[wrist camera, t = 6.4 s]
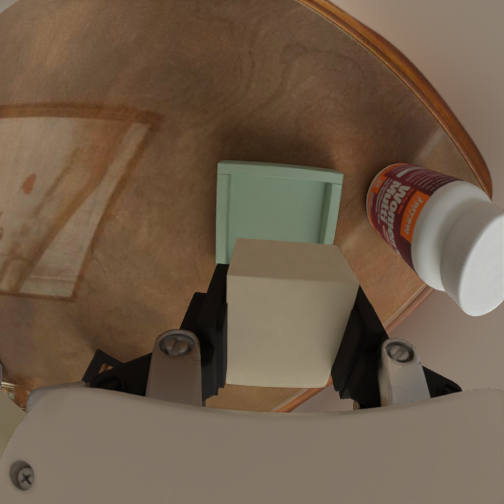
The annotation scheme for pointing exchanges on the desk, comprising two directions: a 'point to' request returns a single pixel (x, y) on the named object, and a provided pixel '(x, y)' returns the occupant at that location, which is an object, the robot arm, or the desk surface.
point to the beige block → (286, 312)
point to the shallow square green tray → (275, 204)
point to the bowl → (0, 374)
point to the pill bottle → (442, 232)
